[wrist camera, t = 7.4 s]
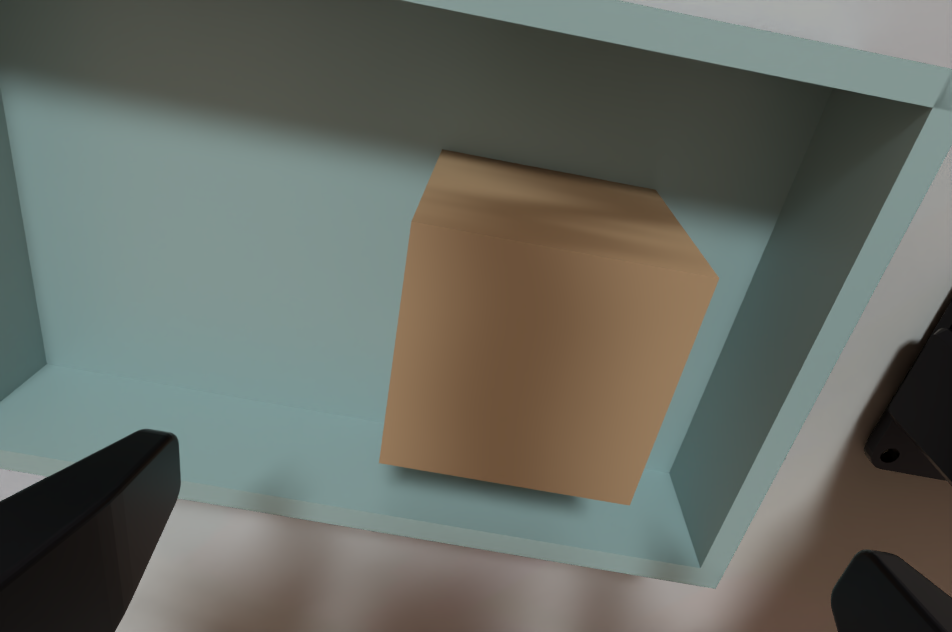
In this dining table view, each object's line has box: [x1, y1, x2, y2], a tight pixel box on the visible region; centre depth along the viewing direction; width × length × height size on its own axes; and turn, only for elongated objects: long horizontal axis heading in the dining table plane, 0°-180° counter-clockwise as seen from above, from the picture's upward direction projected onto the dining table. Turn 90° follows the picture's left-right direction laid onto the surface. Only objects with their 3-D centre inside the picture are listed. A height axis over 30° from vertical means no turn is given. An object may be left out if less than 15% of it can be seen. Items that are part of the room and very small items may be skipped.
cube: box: [379, 149, 719, 506], centre depth 13 cm, size 5×5×5 cm
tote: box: [0, 0, 952, 589], centre depth 14 cm, size 19×12×4 cm, turn 80°
